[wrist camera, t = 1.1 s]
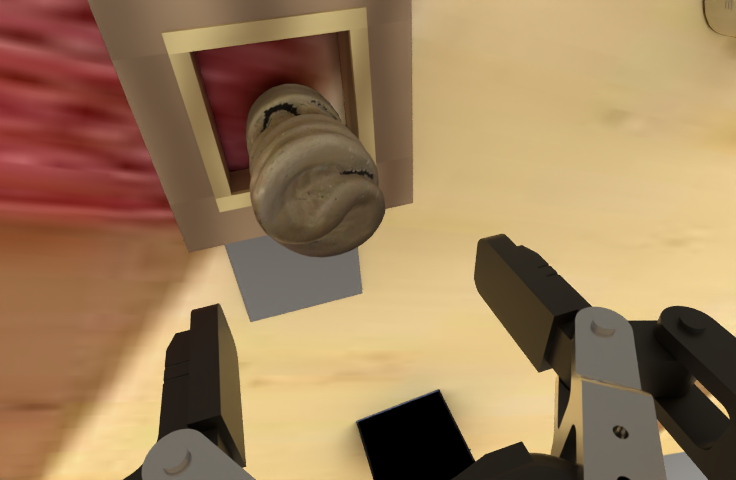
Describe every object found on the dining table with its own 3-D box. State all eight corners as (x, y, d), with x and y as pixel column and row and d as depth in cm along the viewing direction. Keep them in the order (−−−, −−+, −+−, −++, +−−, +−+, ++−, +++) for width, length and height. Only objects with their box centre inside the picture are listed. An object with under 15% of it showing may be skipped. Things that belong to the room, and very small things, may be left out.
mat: (350, 194, 34) (352, 198, 33) (360, 288, 40) (362, 293, 39) (218, 222, 32) (218, 226, 31) (250, 317, 38) (250, 322, 37)
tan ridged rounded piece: (215, 104, 27) (221, 238, 15) (271, 34, 26) (323, 121, 14) (286, 156, 30) (335, 298, 19) (338, 96, 29) (426, 209, 17)
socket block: (391, -61, 25) (413, -60, 22) (399, 184, 34) (415, 205, 32) (90, -32, 22) (74, -26, 19) (190, 228, 31) (188, 256, 29)
